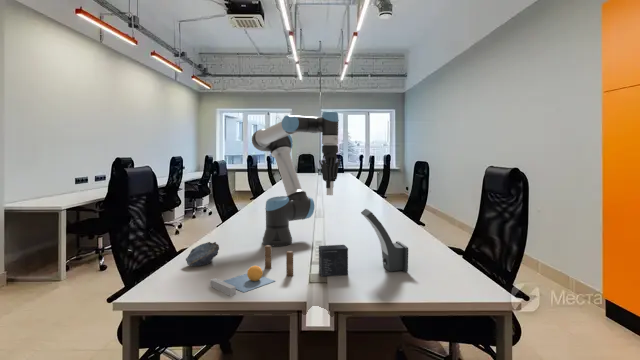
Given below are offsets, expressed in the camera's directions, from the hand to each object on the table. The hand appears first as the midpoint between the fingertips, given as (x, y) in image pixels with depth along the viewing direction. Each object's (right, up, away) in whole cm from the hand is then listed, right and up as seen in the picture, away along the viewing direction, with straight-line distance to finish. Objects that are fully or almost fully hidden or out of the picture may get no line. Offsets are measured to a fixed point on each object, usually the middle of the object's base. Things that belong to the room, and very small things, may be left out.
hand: (329, 195), depth 171 cm
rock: (-53, -28, -19) cm, 63 cm away
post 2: (-16, -29, -33) cm, 47 cm away
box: (+1, -29, -30) cm, 42 cm away
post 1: (-26, -29, -25) cm, 45 cm away
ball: (-28, -27, -39) cm, 55 cm away
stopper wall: (-38, -30, -48) cm, 68 cm away
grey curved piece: (+21, -29, -25) cm, 44 cm away
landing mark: (-31, -30, -40) cm, 59 cm away
